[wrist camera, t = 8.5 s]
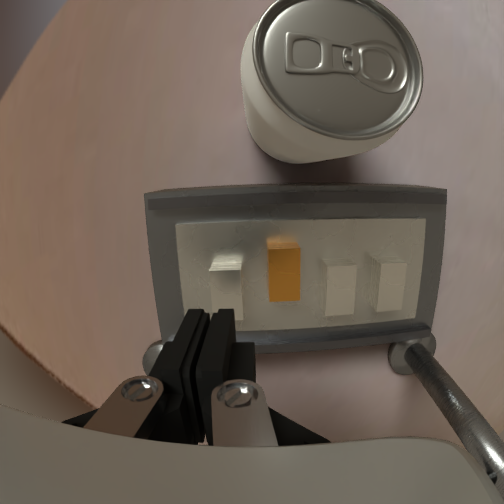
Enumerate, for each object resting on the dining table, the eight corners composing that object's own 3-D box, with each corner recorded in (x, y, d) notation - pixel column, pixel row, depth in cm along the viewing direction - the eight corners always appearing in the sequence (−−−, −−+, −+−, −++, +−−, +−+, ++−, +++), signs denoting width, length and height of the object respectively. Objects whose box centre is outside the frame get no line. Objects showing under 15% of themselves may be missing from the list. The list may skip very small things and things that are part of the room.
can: (341, 167, 20) (436, 166, 9) (244, 162, 20) (233, 148, 9) (342, 77, 19) (423, -1, 7) (247, 70, 19) (241, -31, 7)
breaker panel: (417, 185, 21) (462, 191, 15) (407, 313, 23) (441, 348, 17) (163, 189, 21) (132, 196, 15) (177, 325, 23) (157, 367, 18)
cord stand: (436, 322, 23) (561, 453, 7) (426, 365, 24) (523, 500, 8) (140, 338, 24) (40, 515, 7) (150, 382, 25) (80, 553, 8)
